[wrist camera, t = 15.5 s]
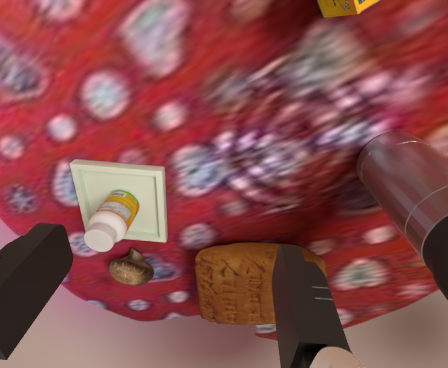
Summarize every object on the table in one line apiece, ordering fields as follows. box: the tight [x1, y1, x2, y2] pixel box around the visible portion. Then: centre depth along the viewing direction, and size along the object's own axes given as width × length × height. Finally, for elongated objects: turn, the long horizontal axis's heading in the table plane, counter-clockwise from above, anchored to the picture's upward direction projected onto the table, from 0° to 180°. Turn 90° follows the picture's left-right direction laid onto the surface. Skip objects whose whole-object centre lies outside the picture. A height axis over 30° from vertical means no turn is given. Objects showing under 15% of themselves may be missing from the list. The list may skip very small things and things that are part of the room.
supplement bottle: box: [84, 189, 140, 252], centre depth 41 cm, size 5×5×10 cm
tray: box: [70, 159, 168, 242], centre depth 45 cm, size 14×14×2 cm
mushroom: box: [108, 248, 154, 286], centre depth 51 cm, size 8×8×6 cm
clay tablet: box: [195, 242, 327, 325], centre depth 49 cm, size 22×17×8 cm
